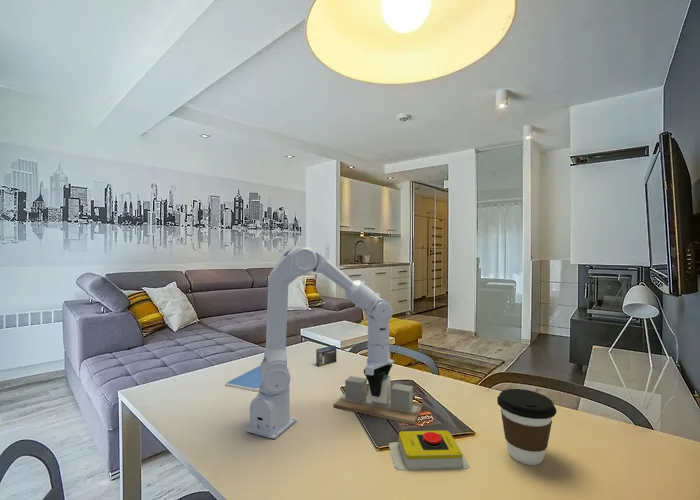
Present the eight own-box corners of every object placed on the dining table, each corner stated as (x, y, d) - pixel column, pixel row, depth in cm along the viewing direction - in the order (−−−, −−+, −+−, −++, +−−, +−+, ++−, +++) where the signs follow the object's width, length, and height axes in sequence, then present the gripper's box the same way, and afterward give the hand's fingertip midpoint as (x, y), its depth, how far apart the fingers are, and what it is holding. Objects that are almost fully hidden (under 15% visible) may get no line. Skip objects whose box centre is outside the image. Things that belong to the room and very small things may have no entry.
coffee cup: (565, 476, 65) (566, 413, 65) (504, 469, 67) (504, 408, 67) (543, 443, 76) (544, 389, 76) (491, 438, 78) (491, 386, 77)
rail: (415, 415, 87) (415, 412, 87) (340, 399, 95) (340, 397, 95) (418, 409, 90) (418, 406, 90) (345, 394, 99) (345, 392, 99)
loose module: (386, 404, 90) (386, 380, 90) (368, 400, 92) (368, 377, 92) (390, 398, 93) (390, 375, 93) (373, 395, 95) (373, 372, 95)
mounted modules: (409, 411, 87) (409, 391, 87) (345, 398, 95) (345, 380, 95) (412, 405, 91) (412, 386, 91) (350, 393, 98) (350, 375, 98)
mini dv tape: (318, 366, 124) (318, 350, 124) (316, 365, 125) (316, 349, 125) (336, 362, 130) (336, 346, 130) (333, 361, 131) (333, 345, 131)
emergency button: (471, 448, 67) (395, 450, 67) (471, 471, 67) (395, 473, 67) (455, 424, 76) (388, 425, 76) (455, 443, 77) (388, 445, 76)
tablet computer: (261, 367, 125) (261, 363, 125) (291, 372, 120) (291, 368, 120) (223, 387, 107) (223, 383, 107) (257, 393, 103) (257, 389, 103)
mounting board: (414, 424, 84) (414, 421, 84) (333, 407, 93) (333, 404, 93) (422, 407, 93) (422, 404, 93) (348, 393, 102) (348, 390, 102)
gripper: (384, 352, 84) (383, 407, 85) (400, 337, 98) (400, 385, 98) (357, 348, 87) (357, 401, 87) (376, 335, 101) (376, 381, 101)
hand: (378, 392), depth 93 cm, fingers closed on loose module, 4 cm apart
